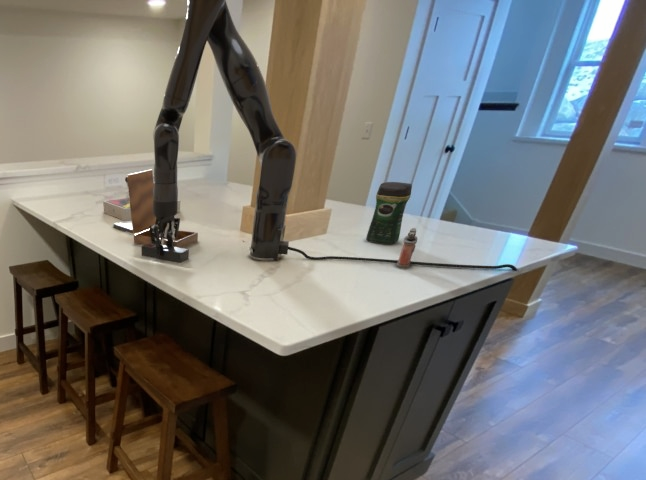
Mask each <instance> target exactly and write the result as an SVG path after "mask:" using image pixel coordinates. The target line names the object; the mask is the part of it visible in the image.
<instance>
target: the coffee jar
mask: <svg viewBox="0 0 646 480" xmlns="http://www.w3.org/2000/svg"><path fill="white" fill-rule="evenodd" d="M412 185H413V184H412V183H408V182H402V181H401V182H399V181H385V182H382V183H380V185H379V187H378V190H377V192H376V195H375V200H376V202H375V203H376V204H375V208H374V212H373V215H372V218H371V220H370V221H371V222H370V224H369V227H368V230H367V233H366V237H365V240H366V241H367V242H370V243H373V244H382V245H392V244H393V245H394V244H396V243H397V242H398V241H399V239H400V235H401V231H402V229H401V228H402V223H403V217H404V212H405V208H406V205H407V203H408V201H409V200H410V198H411V197H412V189H413V186H412Z"/></svg>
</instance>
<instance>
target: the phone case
mask: <svg viewBox="0 0 646 480" xmlns="http://www.w3.org/2000/svg"><path fill="white" fill-rule="evenodd" d="M113 228H114V229H115V228H116V229H118V230H121V231H124V232H127V233H129V234H133V229H132V220H129V221H119V222H114V223H113ZM148 229H149V228H148ZM148 229H145V230H148ZM145 230H143V231H145ZM143 231H140V232H143ZM140 232H139V233H140Z"/></svg>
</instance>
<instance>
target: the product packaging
mask: <svg viewBox="0 0 646 480" xmlns="http://www.w3.org/2000/svg"><path fill="white" fill-rule="evenodd" d="M102 204H103V213H104V214H106V215H109V216H112V217H114V218H116V219H119V220H122V221H123V222H125V221H132V219H131V209H130V199H129V197H121V198H115V199H107V200H102ZM178 213H181V200H180V199H178V209H177V214H178Z"/></svg>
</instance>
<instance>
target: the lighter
mask: <svg viewBox="0 0 646 480" xmlns="http://www.w3.org/2000/svg"><path fill="white" fill-rule="evenodd" d="M416 235H417V228H416V227H412V228H411V229H409V232H408V233H407V235H406V236H404V238H403V241H402V247H401V250H400V254H399V257H398V261H397V263H396V268H397V269H400V270H401V269H403V270H405V269H408V268H409V267H410V266H411V264H410V261H412V256H413V253H414V252H415V249H416V244H417V243H418V240H419V239H418V236H416Z"/></svg>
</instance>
